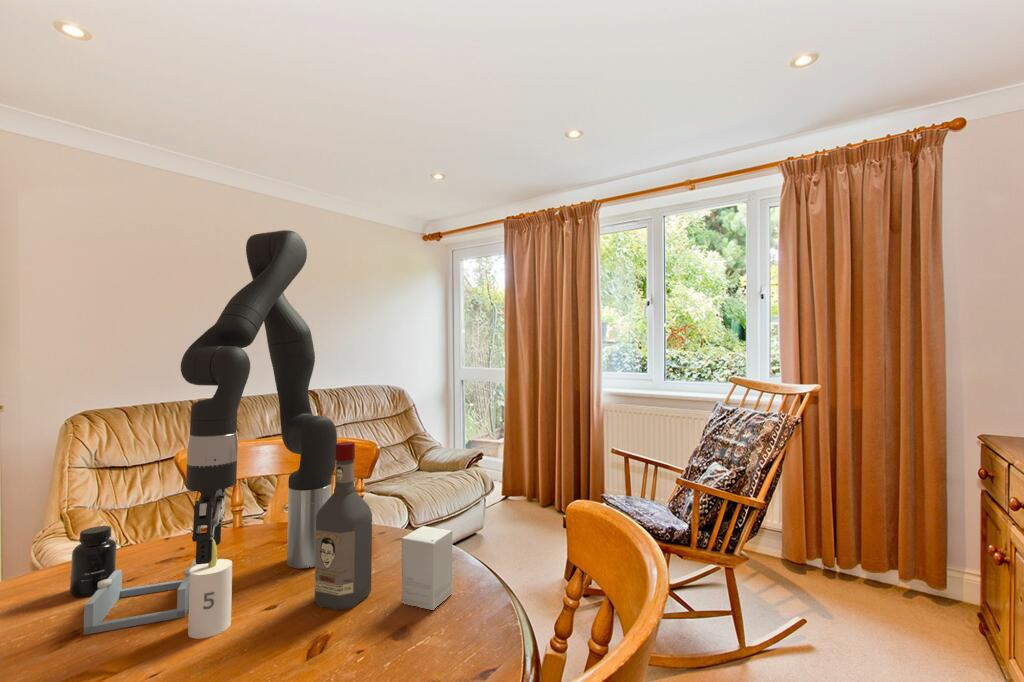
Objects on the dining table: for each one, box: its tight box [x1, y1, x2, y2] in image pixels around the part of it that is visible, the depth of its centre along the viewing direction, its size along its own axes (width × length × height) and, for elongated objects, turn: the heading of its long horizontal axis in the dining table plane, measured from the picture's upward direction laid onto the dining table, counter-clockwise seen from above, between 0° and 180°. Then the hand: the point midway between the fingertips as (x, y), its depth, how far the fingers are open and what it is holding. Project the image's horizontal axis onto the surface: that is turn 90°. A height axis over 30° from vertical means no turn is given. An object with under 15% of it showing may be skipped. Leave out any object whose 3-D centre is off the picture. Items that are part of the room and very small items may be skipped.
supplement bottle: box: [69, 525, 118, 598], centre depth 96 cm, size 7×7×12 cm
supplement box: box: [401, 525, 454, 610], centre depth 93 cm, size 7×7×13 cm
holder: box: [83, 558, 197, 636], centre depth 90 cm, size 15×14×6 cm
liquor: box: [314, 441, 373, 611], centre depth 94 cm, size 9×9×30 cm
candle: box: [187, 539, 233, 640], centre depth 83 cm, size 6×6×15 cm
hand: (208, 553), depth 83 cm, fingers open, 8 cm apart
